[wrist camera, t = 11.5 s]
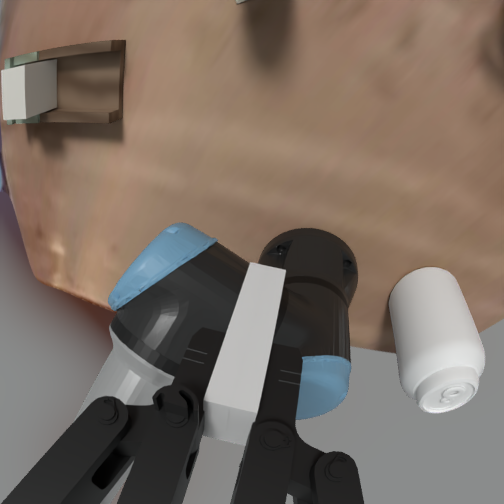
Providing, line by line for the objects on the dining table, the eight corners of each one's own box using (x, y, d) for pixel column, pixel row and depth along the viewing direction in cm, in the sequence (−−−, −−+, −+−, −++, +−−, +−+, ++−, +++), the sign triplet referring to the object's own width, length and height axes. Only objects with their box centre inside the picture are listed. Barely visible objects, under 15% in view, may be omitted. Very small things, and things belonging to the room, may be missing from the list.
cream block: (57, 107, 40) (26, 118, 34) (33, 108, 40) (3, 120, 35) (56, 59, 35) (24, 65, 29) (32, 63, 36) (1, 70, 30)
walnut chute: (122, 117, 41) (104, 125, 37) (25, 117, 43) (7, 124, 39) (125, 40, 34) (107, 40, 30) (23, 55, 36) (4, 59, 32)
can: (401, 259, 45) (429, 367, 28) (468, 270, 43) (511, 369, 27) (378, 318, 52) (387, 422, 35) (440, 325, 50) (462, 421, 34)
